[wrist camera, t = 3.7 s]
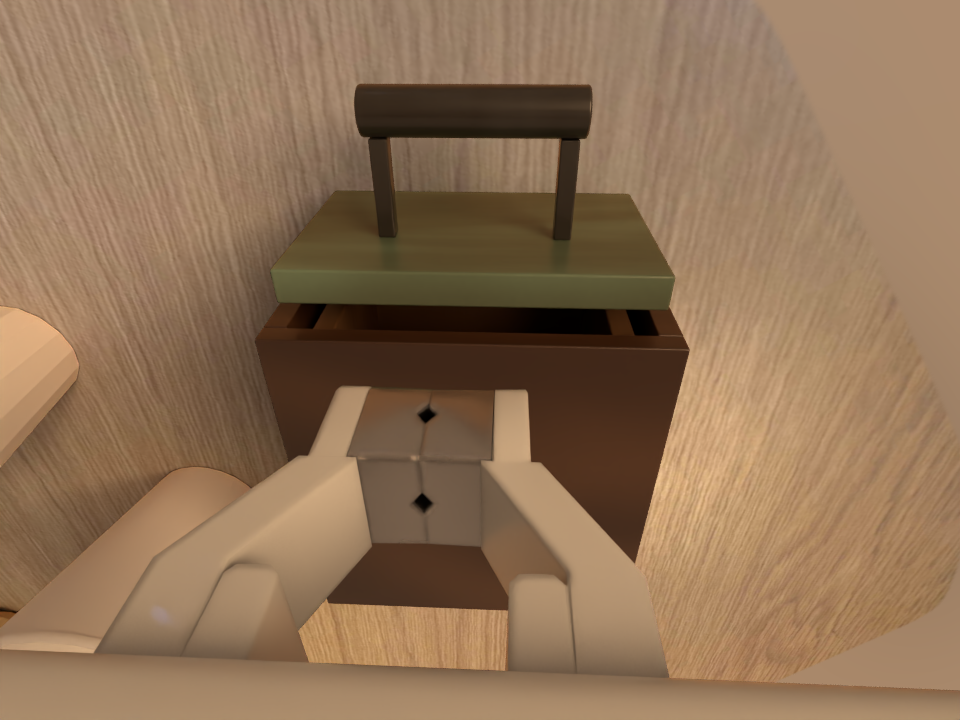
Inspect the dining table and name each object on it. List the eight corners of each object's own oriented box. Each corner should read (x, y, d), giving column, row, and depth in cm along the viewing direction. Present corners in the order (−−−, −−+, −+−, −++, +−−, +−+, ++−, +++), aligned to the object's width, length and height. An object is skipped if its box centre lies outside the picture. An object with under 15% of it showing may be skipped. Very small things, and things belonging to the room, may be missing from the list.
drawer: (315, 63, 21) (227, 101, 14) (649, 64, 20) (714, 104, 14) (371, 428, 31) (335, 546, 25) (592, 435, 31) (615, 556, 24)
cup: (92, 503, 37) (-64, 701, 27) (162, 405, 32) (0, 605, 22) (250, 578, 41) (165, 773, 31) (335, 502, 36) (266, 708, 26)
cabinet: (333, 227, 25) (253, 340, 17) (633, 231, 25) (690, 349, 17) (370, 456, 34) (327, 604, 26) (595, 463, 33) (622, 615, 25)
